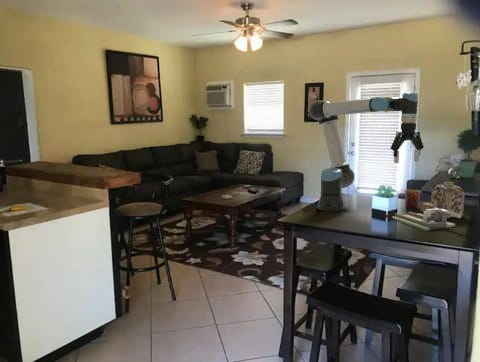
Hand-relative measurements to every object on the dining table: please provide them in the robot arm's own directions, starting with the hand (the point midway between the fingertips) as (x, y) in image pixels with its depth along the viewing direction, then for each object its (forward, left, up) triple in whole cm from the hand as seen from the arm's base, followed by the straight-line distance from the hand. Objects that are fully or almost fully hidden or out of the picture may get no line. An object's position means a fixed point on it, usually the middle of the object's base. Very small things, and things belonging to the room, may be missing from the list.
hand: (406, 162), depth 208 cm
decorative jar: (+10, +20, -29) cm, 37 cm away
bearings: (+22, +1, -29) cm, 36 cm away
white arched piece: (+24, -2, -27) cm, 36 cm away
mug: (-8, +14, -29) cm, 33 cm away
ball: (+26, -6, -27) cm, 38 cm away
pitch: (+18, -4, -29) cm, 34 cm away
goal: (+26, -6, -29) cm, 39 cm away
